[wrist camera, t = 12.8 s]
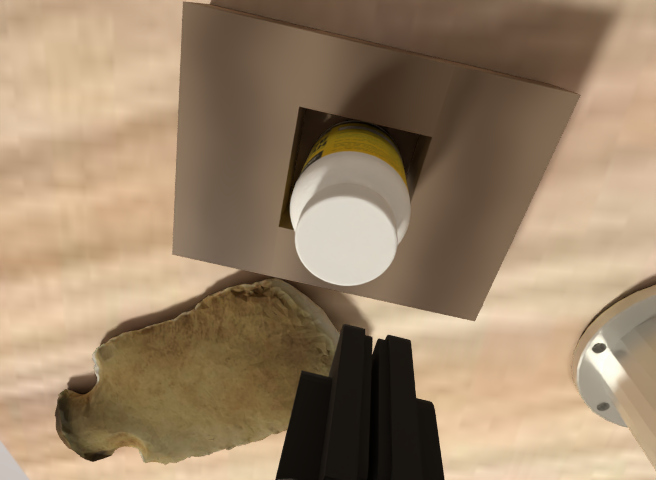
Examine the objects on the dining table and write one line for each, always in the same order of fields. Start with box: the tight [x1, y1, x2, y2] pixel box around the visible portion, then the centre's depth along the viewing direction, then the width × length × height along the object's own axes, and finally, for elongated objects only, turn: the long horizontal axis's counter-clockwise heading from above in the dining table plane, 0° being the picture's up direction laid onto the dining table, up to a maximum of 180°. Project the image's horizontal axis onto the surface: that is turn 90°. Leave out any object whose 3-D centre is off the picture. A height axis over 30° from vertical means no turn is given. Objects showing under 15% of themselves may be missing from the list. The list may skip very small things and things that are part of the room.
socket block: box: [172, 2, 580, 321], centre depth 23 cm, size 18×13×4 cm
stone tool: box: [55, 278, 340, 465], centre depth 32 cm, size 12×4×25 cm
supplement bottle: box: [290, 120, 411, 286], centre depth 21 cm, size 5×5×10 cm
